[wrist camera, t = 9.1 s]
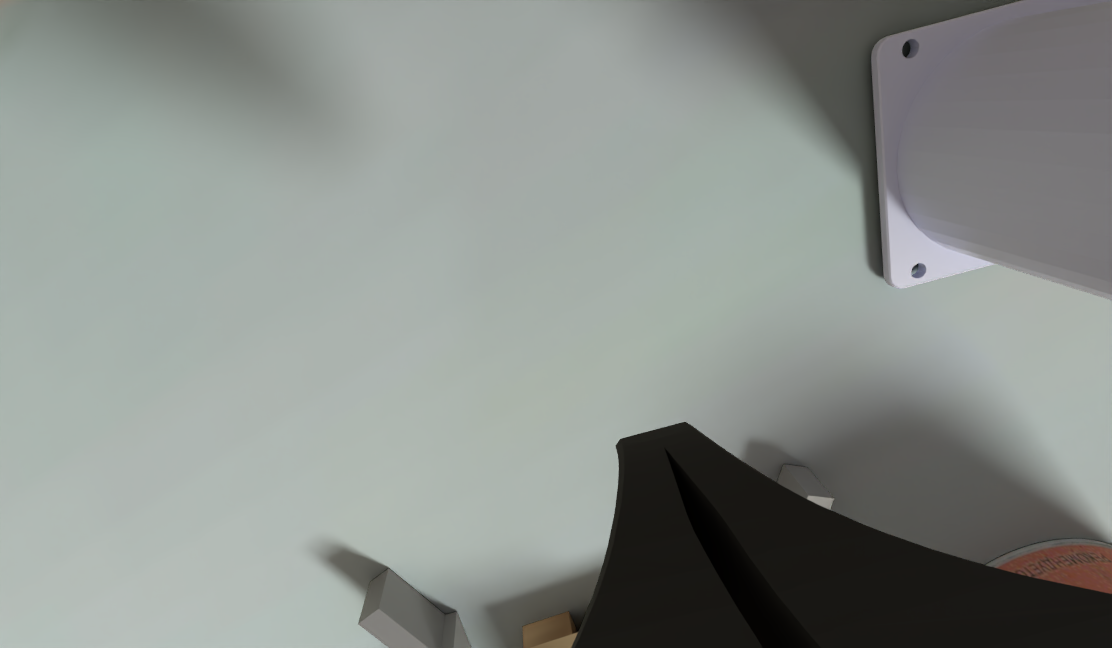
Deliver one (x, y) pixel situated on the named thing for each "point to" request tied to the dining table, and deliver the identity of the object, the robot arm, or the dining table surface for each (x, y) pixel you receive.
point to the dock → (440, 640)
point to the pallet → (550, 632)
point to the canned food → (1063, 563)
